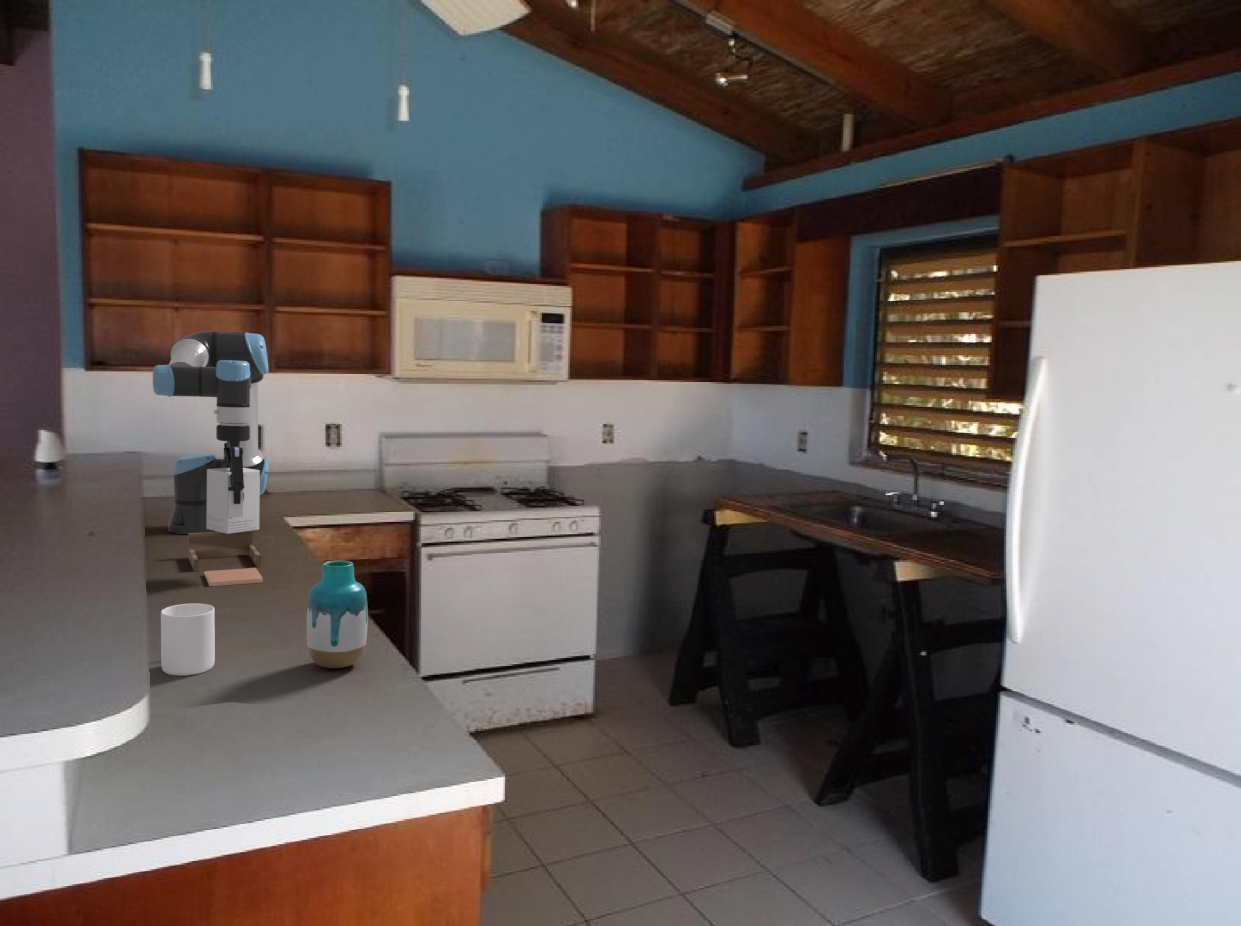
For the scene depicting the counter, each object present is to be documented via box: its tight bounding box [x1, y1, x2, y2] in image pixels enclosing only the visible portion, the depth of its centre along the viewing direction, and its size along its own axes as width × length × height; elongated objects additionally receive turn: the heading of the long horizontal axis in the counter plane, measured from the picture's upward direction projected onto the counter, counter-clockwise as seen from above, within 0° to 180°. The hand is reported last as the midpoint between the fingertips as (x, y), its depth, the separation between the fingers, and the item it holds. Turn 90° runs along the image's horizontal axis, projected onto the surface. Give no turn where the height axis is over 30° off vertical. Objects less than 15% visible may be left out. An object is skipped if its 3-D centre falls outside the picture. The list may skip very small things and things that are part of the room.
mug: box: [160, 602, 216, 677], centre depth 163 cm, size 9×12×11 cm
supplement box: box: [207, 468, 261, 534], centre depth 223 cm, size 9×9×15 cm
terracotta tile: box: [204, 567, 264, 587], centre depth 225 cm, size 12×12×1 cm
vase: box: [306, 559, 369, 669], centre depth 166 cm, size 11×11×19 cm
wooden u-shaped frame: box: [187, 530, 262, 572], centre depth 242 cm, size 16×16×7 cm
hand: (233, 513), depth 223 cm, fingers closed on supplement box, 11 cm apart
